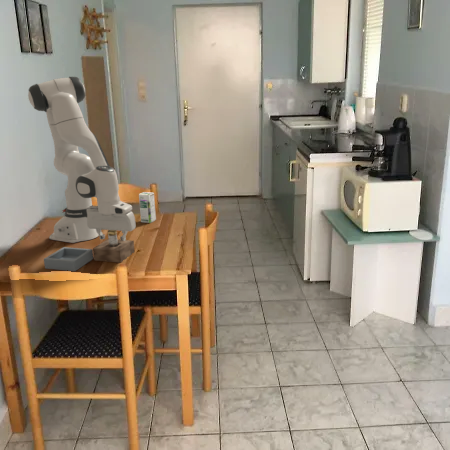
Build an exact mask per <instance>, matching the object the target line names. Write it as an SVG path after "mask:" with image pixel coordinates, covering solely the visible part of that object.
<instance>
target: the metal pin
mask: <svg viewBox="0 0 450 450" xmlns="http://www.w3.org/2000/svg"><path fill="white" fill-rule="evenodd" d="M117 231H118V230H107V237H108V238H107V239H109V247H117V246H118V240H119V239H118V234H117V233H118V232H117Z"/></svg>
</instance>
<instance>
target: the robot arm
mask: <svg viewBox="0 0 450 450" xmlns="http://www.w3.org/2000/svg"><path fill="white" fill-rule="evenodd" d="M27 96H28V101H29V103H30V104H31V106H32V107H33V109H34V110H36V111H38V112H45V113H46V118H47V122H48V125H49V130H50V132H51V136H52V140H53V145H54V158H53V166H54V168H55V170H57V171H58V172H59V173H60V174H62V175H64V176H67V187H66V189H65V190H64V194H65V203H66V204H65V205H66V208H64V209H62V210H61V211H62V213H64V215H63V217H61V218H60V219H59V220H58V221H57V222H56V223H55V224H54V226H53V233H51V234H50V235H49V240H53V241H59V242H65V243H70V244H71V243H72V244H75V243H78V242H84V241H89V240H93V239H95V238H98V237H99V240H106V234H104V233H103V231H102V230H104V231H105V230H106V231H108V230H116V231H119V232H120V231H121V233H122V235H121V236H120V237H119V238H120V239H119V240H121V241H125V240H127V237H126V236H127V234H128V232H132V231H134V230H135V229H136V217H135V214H134V212H133V211H132V210H133V206H132V205H131V204H130V203H126V202H124V201H122V200H121V198H120V196H119V191H120V189H119V180H118V179H119V178H118V175H117V172H116V170H115V168H114V167H112V166H111V165H110V163H109V161H108V159H107V157H106V156H105V153H104V149H102V146H101V144H100V142H99V140H98V138H97V136H96V135H95V134H94V132H92V131H91V130H90V128H89V127H88V125H87V123H86V121H85V119H84V114H83V112H82V110H81V108H80V105H79V103H81V102H82V101H84V99H86V98H85V97H86V88H85V85H84V83H83V82H82V80H81V79H80V77H77V76H69V77H61V78H54V79H51V80H47V81H44V82H40V83H35V84H33V85H31V86H30V87H29V88H28V95H27ZM79 148H81V149H83V150H85V151H86V153H87V154H88V155H87V154H85V153H82V152H80V151H79ZM92 198H96V201H97V205H96V206H95V205H93V201H92Z"/></svg>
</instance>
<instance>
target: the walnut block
mask: <svg viewBox="0 0 450 450" xmlns="http://www.w3.org/2000/svg"><path fill="white" fill-rule="evenodd" d="M117 240H118V246H117V247H109V239H108V238H106V239H104V241H102V242H101V243H99V244H98V245H96V246H95V247H93V248H92V250H93V258H94V259H93V260H94V261H98V262H108V263H109V262H111V263H120V262H121V263H123V262H124V261H125V260H126V259H128V258H129V257H130V256H132V255H133V254H134V253H135V241H134V240H129V239H126V240H125V241H121V239H117ZM132 253H133V254H132ZM127 257H128V258H127ZM123 260H124V261H123Z"/></svg>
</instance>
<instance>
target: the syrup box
mask: <svg viewBox="0 0 450 450" xmlns="http://www.w3.org/2000/svg"><path fill="white" fill-rule="evenodd" d="M138 201H139V210H140V211H139V213H140V223H146V224H147V223H149V224H151V223H153V222H155V221H156V220H157V215H156V205H155V204H156V203H155V193H154V192H148V191H143V192H141V193H138Z"/></svg>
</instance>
